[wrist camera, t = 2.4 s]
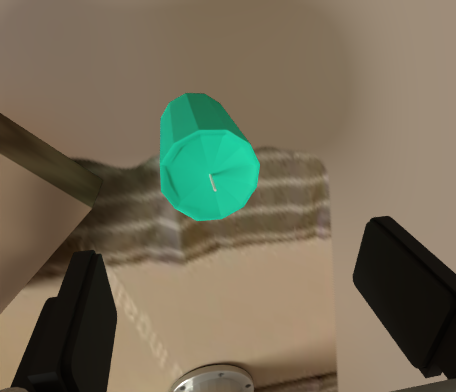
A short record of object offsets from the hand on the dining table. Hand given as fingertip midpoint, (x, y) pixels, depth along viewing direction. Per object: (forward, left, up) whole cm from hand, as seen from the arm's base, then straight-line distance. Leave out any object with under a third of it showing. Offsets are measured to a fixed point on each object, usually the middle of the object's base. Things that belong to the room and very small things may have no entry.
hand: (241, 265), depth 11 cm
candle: (0, 0, -19) cm, 19 cm away
